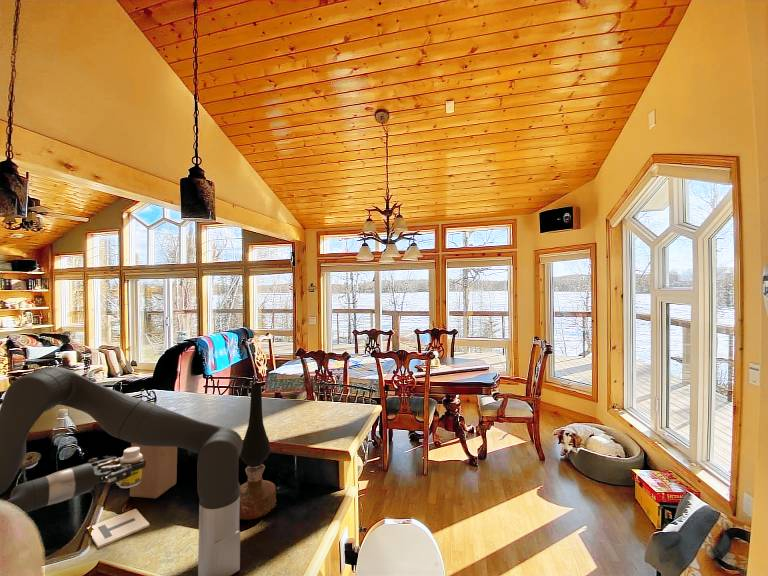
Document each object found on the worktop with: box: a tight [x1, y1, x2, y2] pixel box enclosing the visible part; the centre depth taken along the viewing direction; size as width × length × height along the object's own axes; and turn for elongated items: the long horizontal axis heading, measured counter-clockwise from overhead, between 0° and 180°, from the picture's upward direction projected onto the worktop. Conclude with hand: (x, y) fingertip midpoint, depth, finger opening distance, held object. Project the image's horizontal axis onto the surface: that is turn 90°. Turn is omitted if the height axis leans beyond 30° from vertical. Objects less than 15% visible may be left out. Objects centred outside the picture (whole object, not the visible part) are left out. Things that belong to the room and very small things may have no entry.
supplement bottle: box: [118, 446, 143, 489], centre depth 105 cm, size 6×6×10 cm
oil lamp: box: [239, 383, 277, 520], centre depth 117 cm, size 14×15×40 cm
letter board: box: [86, 508, 150, 549], centre depth 103 cm, size 12×12×1 cm
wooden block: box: [129, 442, 178, 499], centre depth 123 cm, size 10×10×20 cm
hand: (140, 460), depth 107 cm, fingers closed on supplement bottle, 5 cm apart
